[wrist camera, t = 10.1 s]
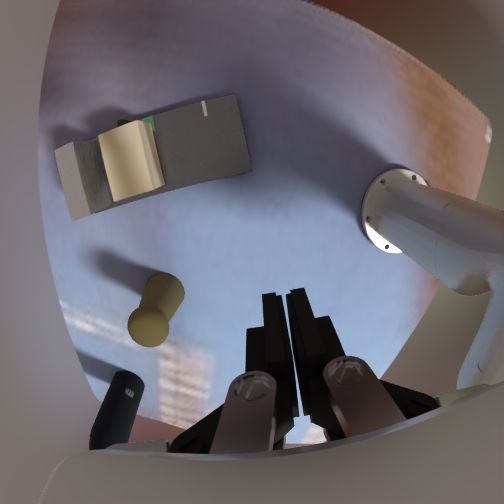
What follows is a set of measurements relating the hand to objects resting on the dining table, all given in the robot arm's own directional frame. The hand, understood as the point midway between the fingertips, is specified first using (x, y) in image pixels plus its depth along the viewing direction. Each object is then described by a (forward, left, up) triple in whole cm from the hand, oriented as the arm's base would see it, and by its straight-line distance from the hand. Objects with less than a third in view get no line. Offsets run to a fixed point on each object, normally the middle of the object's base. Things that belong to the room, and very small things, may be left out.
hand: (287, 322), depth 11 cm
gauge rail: (+11, -9, -27) cm, 30 cm away
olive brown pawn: (+16, +10, -27) cm, 33 cm away
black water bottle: (+31, +28, -27) cm, 50 cm away
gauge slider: (+13, -10, -25) cm, 30 cm away
